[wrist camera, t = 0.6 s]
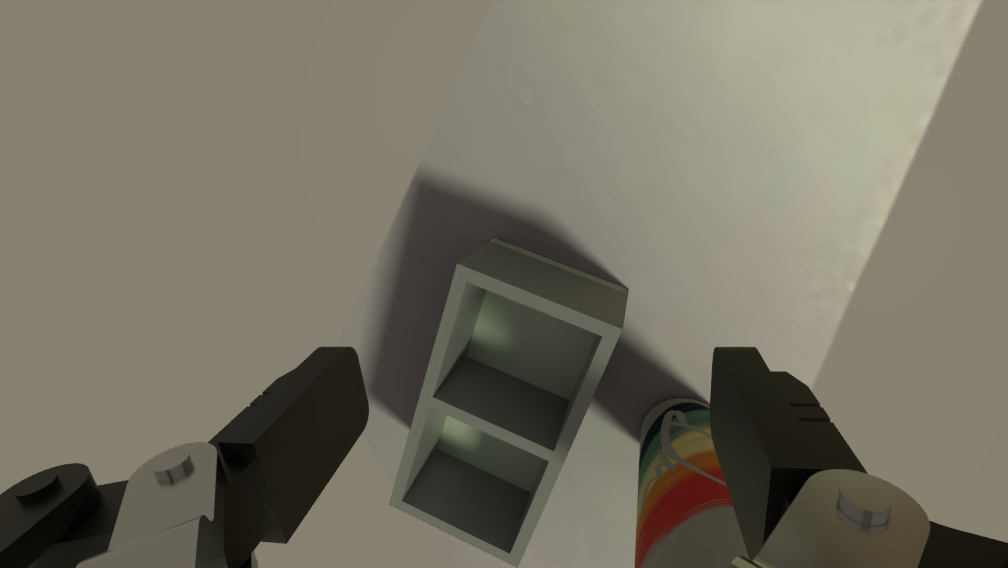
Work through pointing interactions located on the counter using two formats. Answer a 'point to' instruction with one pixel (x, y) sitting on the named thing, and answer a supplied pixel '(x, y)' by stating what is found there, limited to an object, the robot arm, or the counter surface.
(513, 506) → the box
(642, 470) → the lotion bottle
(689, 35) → the counter surface
